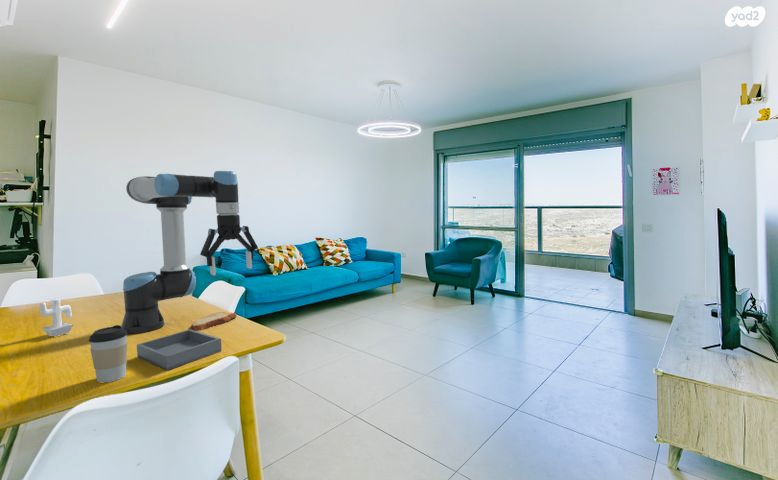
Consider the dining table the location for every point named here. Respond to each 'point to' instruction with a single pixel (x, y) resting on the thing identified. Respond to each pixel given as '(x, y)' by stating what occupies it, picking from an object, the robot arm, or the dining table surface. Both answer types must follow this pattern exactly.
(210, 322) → the slice of bread
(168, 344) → the tray
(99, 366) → the coffee cup
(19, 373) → the dining table surface
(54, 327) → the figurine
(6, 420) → the dining table surface
